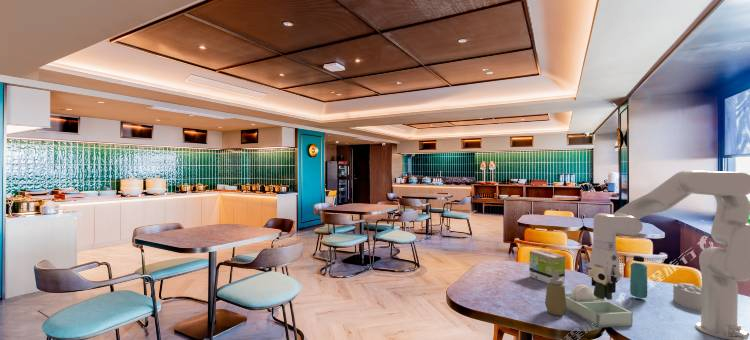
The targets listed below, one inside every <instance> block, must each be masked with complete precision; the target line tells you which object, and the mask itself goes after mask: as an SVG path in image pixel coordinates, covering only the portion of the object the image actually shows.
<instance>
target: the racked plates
mask: <svg viewBox="0 0 750 340" xmlns="http://www.w3.org/2000/svg"><path fill="white" fill-rule="evenodd" d="M571 293H572V299H576V301H588V300H596V297H595V296H594V289H593V288H591V287H589V286H587V285H585V284H579V285H576V286H575V287H574V288H573V289H572V291H571Z"/></svg>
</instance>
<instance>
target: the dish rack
mask: <svg viewBox="0 0 750 340" xmlns="http://www.w3.org/2000/svg"><path fill="white" fill-rule="evenodd" d="M565 296H566V309H565V310H567V311H568V312H571V314H572V313H573V315H575V316H578V317H579V318H581V317H582V318H584V319H585V320H584V319H583V320H584V321H586V320H588V321H589V322H591V323H593V324H594V325H596V326H595V327H596V328H599V329H600V328H612V327H614V328H615V327H627V326H628V327H630V326H633V321H634V320H633V318H634V317H633V316H634V315H633V311H631V310H629V309H626V308H624V307H621V306H620V305H617V304H615V303H613V302H611V301H610V300H607V299H606V298H604V299H600V298H597V297H596V300H588V301H576V299H572V292H565ZM582 318H581V319H582ZM588 321H587V322H588ZM589 322H588V323H589ZM591 323H590V324H591ZM593 324H592V325H593ZM594 325H593V326H594Z"/></svg>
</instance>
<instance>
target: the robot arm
mask: <svg viewBox="0 0 750 340" xmlns="http://www.w3.org/2000/svg"><path fill="white" fill-rule="evenodd" d="M692 194H694V195H695V194H696V195H703V196H704V195H706V196H713V197H714V198H715V200H716V211H715V216H714V218H713V222H712V226H711V231H710V236H711V238H712V239H713V241H715V242H716V243H719V244H721V245H723V246H726V248H723V247H720V246H710V247H707V248H704V249H703V250H702V251H701V252H700V253H699V255H698V256H699V257H698V263H699V268H700V274H701V286H702V297H701V310H700V321H697V322H696V323H695V328H696V330H698V331H701V332H702V333H704V334H705V335H709V336H712V337H716V338H720V339H724V340H748V339H749V337H750V333H749V332H747V331H744V330H742V326H741V325H740V324H738V307H739V306H738V302H739V300H738V299H739V298H738V297H739V296H738V295H739V285H738V282H746V281H749V280H750V223H749V220H750V200H749V198H748V196H747V195H749V194H750V174H748V173H747V172H746V173H745V172H742V171H709V170H682V171H679V172H676V173H675V174H673V175H672V176H670V177H669V178H668V179H666V180H665V181H663V182H662V183H661V184H660V185H658V186H656V188H654V189H652V190H650V192H648V193H646V194H644V195H642V196H640V197H638V198H636V199H634V200H631V201H630V202H628V203H626V204H625V205H624V206H622V207H620V208H619V209H618V210H616V211H615V212H614V213H613V214H610V213H609V214H608V213H596V214H594V215H593V230H592V232H593V235H592V239H593V240H592V241H593V243H592V248H591V251H590V260H589V262H586V266H587V267H588V269H593V264H594V265H595V266H598V267H602V268H604V271H605V275H607V278H608V281H609V282H607V292H608V293H612V294H615V293H616V291H617V289H616V286H617V285H616V284H617V283H618V282H619V281H620V279H622V278H623V275H622V273H621V272H620V259H619V253H618V250H616V249H617V247H618V246H617V244H616V241H617V239H616V238H617V234H621V235H626V236H635V235H638V234H640V233H641V232H642V231H643V227H644V226H643V223H642V221H641V220H640V219H641V218H644V217H646V216H649V215H653V214H656V213H663V212H667V211H669V210H671V209H672V208H673V207H675V206H676V205H677V204H679V203H680V202H682V201H683V200H684V199H686V198H687V197H689V196H690V195H692ZM612 270H613V274H611V272H612ZM591 275H593V272H591ZM610 276H612V279H611V277H610ZM595 284H596V281H594V280H593V278H592V277H591V286H593V287H595Z"/></svg>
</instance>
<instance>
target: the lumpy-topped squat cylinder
mask: <svg viewBox="0 0 750 340" xmlns="http://www.w3.org/2000/svg"><path fill="white" fill-rule="evenodd" d="M672 293H673V295H672V298H673V299H672V300H673V302H675V303H676V304H678V305H679V306H681V307H685V308H687V309H690V310H691V309H692V310H695V311H701V297H702V285H701V286H696V285H695V284H694V283H689V282H688V283H686V282H678V283H674V284H673V291H672Z"/></svg>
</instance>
